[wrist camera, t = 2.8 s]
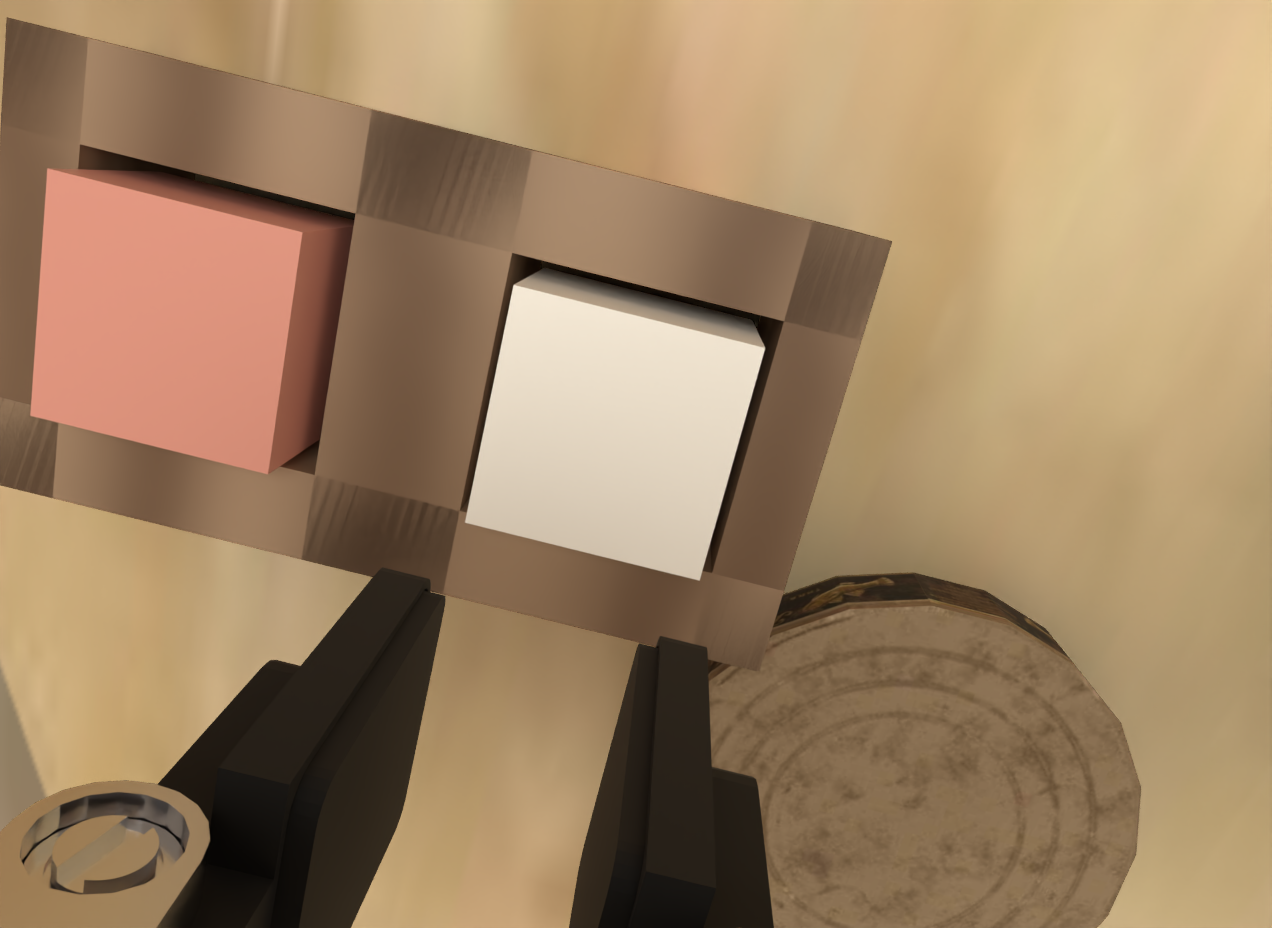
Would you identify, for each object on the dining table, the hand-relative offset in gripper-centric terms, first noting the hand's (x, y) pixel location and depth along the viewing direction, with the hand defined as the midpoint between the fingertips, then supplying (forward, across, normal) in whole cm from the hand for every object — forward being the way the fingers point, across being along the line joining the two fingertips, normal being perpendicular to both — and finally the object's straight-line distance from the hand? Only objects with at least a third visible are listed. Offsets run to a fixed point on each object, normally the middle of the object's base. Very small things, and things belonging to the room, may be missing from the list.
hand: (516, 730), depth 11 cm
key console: (+21, +6, 0) cm, 22 cm away
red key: (+18, +11, 0) cm, 21 cm away
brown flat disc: (+22, -12, +12) cm, 27 cm away
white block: (+18, 0, 0) cm, 18 cm away
